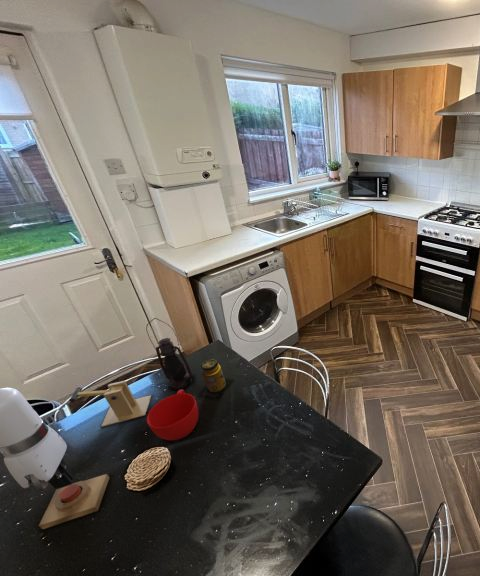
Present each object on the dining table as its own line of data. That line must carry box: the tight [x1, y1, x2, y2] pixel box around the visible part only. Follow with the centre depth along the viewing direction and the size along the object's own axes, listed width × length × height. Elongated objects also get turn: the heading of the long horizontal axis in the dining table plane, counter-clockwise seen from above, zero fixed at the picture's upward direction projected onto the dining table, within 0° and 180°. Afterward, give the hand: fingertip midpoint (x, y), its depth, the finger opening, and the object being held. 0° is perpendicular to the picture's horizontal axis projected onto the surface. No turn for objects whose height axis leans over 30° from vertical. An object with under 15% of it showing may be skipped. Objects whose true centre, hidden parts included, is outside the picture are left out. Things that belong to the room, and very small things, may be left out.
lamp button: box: [60, 483, 82, 503], centre depth 79 cm, size 4×4×2 cm
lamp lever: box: [68, 386, 123, 403], centre depth 99 cm, size 12×5×2 cm, turn 113°
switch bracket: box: [101, 380, 152, 428], centre depth 103 cm, size 12×9×12 cm
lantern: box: [145, 317, 194, 390], centre depth 110 cm, size 8×8×30 cm
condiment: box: [201, 358, 227, 393], centre depth 112 cm, size 7×8×12 cm
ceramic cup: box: [146, 389, 199, 441], centre depth 99 cm, size 13×17×10 cm
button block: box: [38, 473, 110, 530], centre depth 80 cm, size 11×9×4 cm
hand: (64, 483), depth 78 cm, fingers closed
